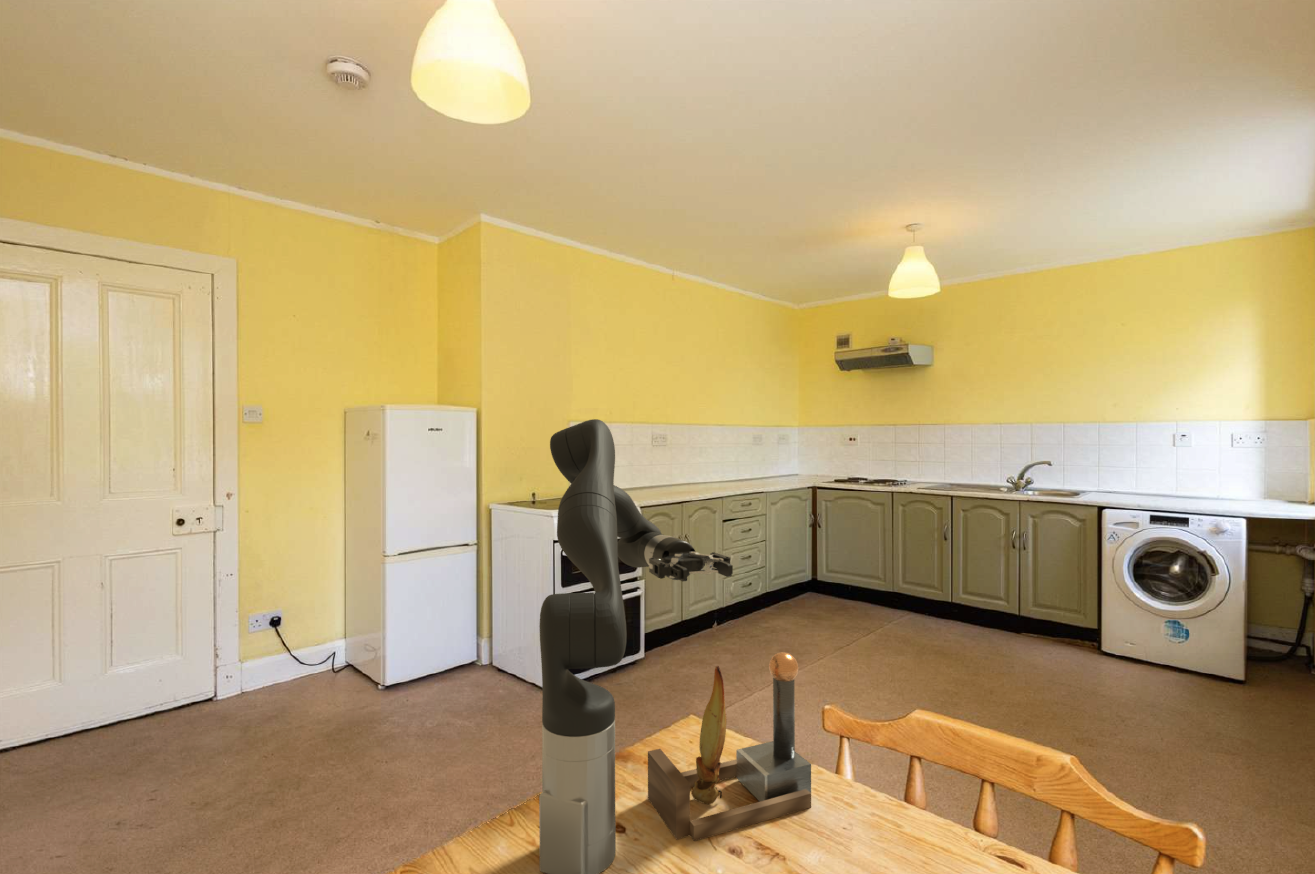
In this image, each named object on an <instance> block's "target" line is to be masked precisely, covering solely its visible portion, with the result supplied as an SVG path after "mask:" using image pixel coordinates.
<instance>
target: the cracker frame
mask: <svg viewBox="0 0 1315 874" xmlns="http://www.w3.org/2000/svg"><path fill="white" fill-rule="evenodd" d="M698 778H699V777H698V775H697V770H696V768H694V769H690V770H687V771H682V772H681V771H680V770H679V768H677V767H676V765H675V764H674V763H673V762H672V761H671V759H670V758H669V757H668V756H667V755H666V753H665V752H664V751H663V750H662V749H661V748H657V749H652V750H647V800H648V801H649V802H650V804H651V805H652V807H653V808H654V810H655V811H656V812H657V814H658V815H659V817H660V819H661V820H662V822H664V825H665V826H666V827H667V828H668V829H669V831H670V833H671V835H672V836H673V837H674V838H675V840H681V839H683V838H687V837H690V838H691V839H692V840H693V842H696V841H699V840H703V839H706V838H709V837H713V836H717V835H720V834H723V833H726V832H730V831H733V830H737V829H741V828H744V827H747V826H751V825H755V824H758V823H761V822H765V821H768V820H772V819H775V818H779V817H783V816H785V815H788V814H793V813H796V812H799V811H800V812H801V811H804V810H806V809H810V808H812V792H811V793H810V792H809V791H808V790H807V789H804V790H801V791H797V792H793V793H790V794H786V795H782V796H779V797H775V798H771V799H768V800H764V801H757V802H753V803H750V804H746V805H743V806H739V807H735V808H732V809H728V810H725V811H720V812H717V813H713V814H710V815H706V816H703V817H699V818H696V819H692V820H691V790H690V789H692V788H691V787H693V788H694V786H695V782H697V780H698ZM732 778H737V760H736V759H731V760H728V761H723V762H721V764H720V769H719V779H721V780H719V781H718V782H721V781H725V780H729V779H732Z"/></svg>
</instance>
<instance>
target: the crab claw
mask: <svg viewBox="0 0 1315 874" xmlns="http://www.w3.org/2000/svg"><path fill="white" fill-rule="evenodd" d="M714 667H715V668H714V673H713V674H714V677H713V685H712V691H711V695H710V697H709V700H708V703H707V704H706V705H705V706H706V707H705V709H704V712H703V715H702V720H701V721H702V722H701V726H700V727H701V728H700V733H699V744H698V745H699V746H698V747H699V752H700V753H699V754H700V756H697V757H695V763H696V768H695V769H696V770H697V775H698V777H699V778H698V780H697V782H695V786H694V787H691V788H690V789H691V790H690V795H691V797H692V798H693V799H694V800H696V801H697V802H700V803H702V804H704V805H713V804H714V803H715V802H716V800H717V798H718V796H719V799H722V796H723V792H722V790H719V789H718V788H717V787H716V784H717V783H718V782H720V781H719V780H721V779H719V769H720V764H721V763H722V762H721V757H722V754H723V750H724V747H725V741H726V736H727V734H726V732H727V720H728V719H727V712H726V701H725V700H726V699H725V686H724V678H723V675H722V670H721V669H720V666H719V665H716V666H714ZM721 781H722V780H721Z"/></svg>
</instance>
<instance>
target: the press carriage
mask: <svg viewBox="0 0 1315 874" xmlns="http://www.w3.org/2000/svg"><path fill="white" fill-rule="evenodd" d="M768 665H769V666H768V669H769V673H770V675H771V677H772V685H773V686H772V692H773V693H772V697H773V698H772V703H773V704H772V722H773V723H772V725H773V726H772V729H773V732H772V735H773V736H772V737H773V739H772V740H773V741H768V742H764V743H760V744H756V745H750V746H747V747H742V748H737V749H736V752H735V753H736V755H735V756H736V758H735V760H737V777H736V779H737V780H738V781H739V782H740V783H741V785H743V786H744V787H745V788H746V789H747V790H748V792H749V793H751V794H752V795H753V796H754V797H755V798H756V799H757V800H758V802H760V801H764V800H768V799H771V798H775V797H779V796H782V795H786V794H790V793H793V792H797V791H801V790H804V789H807V790H808V791H809V792H810V793H811V794H812V763H811V762H809V761H808V760H807V759H805V758H804V757H803V756H802V755H801V754H799V752H797V751H796V746H795V745H796V743H795V741H796V737H795V736H796V734H795V733H796V731H795V728H796V727H795V726H796V724H795V720H796V719H795V718H796V716H795V713H796V711H795V705H796V703H795V701H796V700H795V698H796V697H795V695H796V694H795V691H796V690H795V679H796V677H797V675H798V674H799V663H798V661H797V659H796V658H795V657H794V656H793V655H792V654H791V653H789V652H785V651H782V652H777V653H775V654H774V655H772V657H771V658H770V660H769V663H768Z"/></svg>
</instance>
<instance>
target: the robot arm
mask: <svg viewBox="0 0 1315 874" xmlns="http://www.w3.org/2000/svg"><path fill="white" fill-rule="evenodd" d="M612 434H613V433H612V432H611V429H610V428H609V426H608V425H607V424H606V423H605V422H604V421H603V420H600V419H594V418H593V419H589V420H585V421H583V422H580V423H578V424H577V423H576V424H574V425H572V426H569V427H566V428H564V429H562V430H559V431H557V432H555V433H554V434H553V435H551V437H550V440H549V449H550V455H551V457H552V460H553V462H554V463H555V466H556V467H557V469H558V471H559V473H561V474H562V476H563V477H564V478H565V479H566V480H567V482H569V484H570V485H569V486H568V487H567V489H566V491H565V492H564V493H563V495H562V497H561V499H560V502H559V505H558V508H557V509H558V511H557V523H556V524H557V525H556V537H557V543H558V544H559V546H560V548H561V550H562V551H563V553H564V554H565V556H566V557H567V558H568V560H570V561H571V563H572V564H573V565H574V566H575V567H576V568H577V569H578V570H579V571H580V572H581V573H582V574H583V575H584V576H585V577H586V578H587V580H588V582H589V583H590V584H591V586H592V588H593V590H594V592H571V593H570V592H569V593H567V592H565V593H553V594H549V595H547V596H545V599H544V600H543V602H542V605H541V607H540V614H539V626H538V627H539V647H540V660H541V661H540V662H541V680H542V681H541V682H542V685H541V686H542V687H541V690H542V693H541V694H542V697H541V698H542V699H541V701H542V703H541V704H542V707H541V713H542V714H541V715H542V716H541V723H542V724H541V726H542V728H541V732H542V733H541V734H542V737H541V738H542V746H541V748H542V749H541V751H542V752H541V757H542V758H541V759H542V760H541V761H542V762H541V763H542V765H541V766H542V767H541V768H542V770H541V771H542V773H541V774H542V775H541V777H542V779H541V780H542V782H541V783H542V792H541V793H540V794H539V797H538V799H539V800H538V801H539V803H538V804H539V808H538V809H539V815H538V816H539V819H538V821H539V826H538V827H539V871H540V872H541V873H545V874H601V872H604V871H605V870H607V869H608V867H610V866H611V865H612V863H613V861H614V860H615V857H616V845H617V844H616V843H617V842H616V702H615V698H614V696H613V694H612V693H611V692H610V691H609V690H608V689H606V688H605V687H603V686H601V685H598V684H595V683H593V682H590V681H586V680H584V679H581V678H580V677H578V676H577V675H575V674H573V672H571V671H570V670H577V669H580V670H581V669H599V668H609V667H613V666H614V667H615V666H617V665H618V664H620V663H621V661H622V660H623V658H624V655H625V652H626V648H627V621H626V612H625V604H624V598H623V592H622V591H623V590H622V585H621V583H622V582H621V577H620V576H621V575H620V571H619V560H620V561H621V562H622V563H623V564H625V565H627V566H629V567H632V568H637V569H638V568H639V569H640V568H647V567H648V571H649V573H650V574H652V575H653V576H655V577H656V578H658V579H665V578H668V579H670V580H674V581H680V582H687V581H688V578H689V576H691V575H696V574H701V575H711V574H712V573H713V574H714V573H716V574H719V575H722V576H724V577H726V578H730V577H732V576H733V570H734V568H733V565H732V563H731V559H732V558H731V557H730V556H727V555H724V554H720V553H719V552H718V553H717V552H715V551H713V552H710V554H708V553H707V554H706V553H699V551H696V549H695V548H694V547H693V545H692V544H690V542H688V541H685V540H682V539H680V538H677V537H674V536H672V535H667V534H666V535H665V534H662V532H661V530H660V528H659V527H658V526H657V525H656V524H655V523H653V522H651V521H650V520H648V519H647V518H646V517H645V516H644V515H643V513H641V512H640V510H639V509H638V507H637V505H636V504H635V502H634V500H633V499H632V497H631V496H630V494H628V492H626V491H625V490H624V489H622V488H620V487H619V486H617V485H615V484H614V483H615V482H614V481H615V468H616V467H615V465H616V447H615V442H614V438H613V435H612ZM618 538H620V539H618ZM704 567H705V569H704Z"/></svg>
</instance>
